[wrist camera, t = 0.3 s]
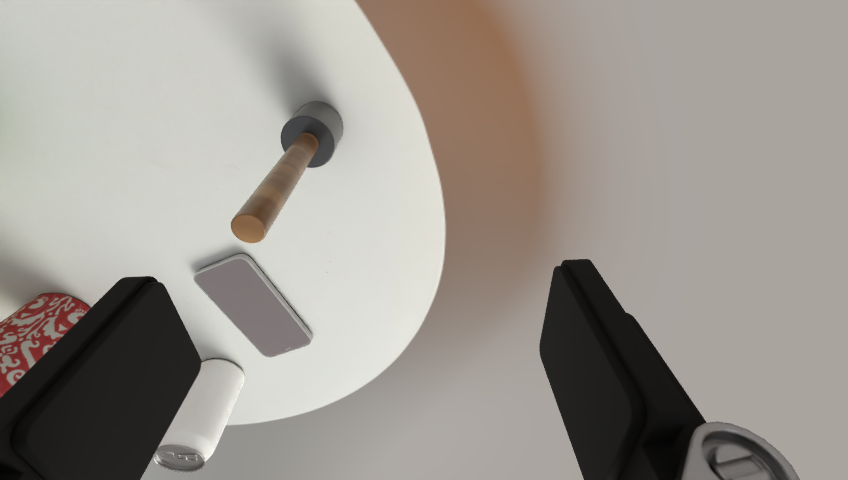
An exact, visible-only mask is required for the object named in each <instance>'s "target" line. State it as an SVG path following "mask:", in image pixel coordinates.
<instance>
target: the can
mask: <svg viewBox="0 0 848 480" xmlns="http://www.w3.org/2000/svg"><path fill="white" fill-rule="evenodd" d="M244 380H245V377H244V374H243V371H242V370H241V368H240V367H239V366H237V365H236V364H234V363H233V362H230V361H228V360H224V359H210V360H207V361H204V362H202V363H201V369H200V372H199V374H198V376H197V378H196V380H195V381H194V383H193V385H192V387H191V389H190V390H189V392H188V394H187V396H186V398H185V399H184V401H183V403H182V405H181V407H180V408H179V410H178V412H177V414H176V416H175V418H174V419H173V421H172V423H171V425H170V427H169V428H168V430H167V432H166V434H165V436H164V437H163V439H162V441H161V443H160V445H159V446H158V448H157V450H156V452H155V454H154V455H153V459H154V461H155V462H156V463H157V464H158V465H160V466H161V467H164V468H166V469H168V470H172V471H176V472H194V471H197V470H200V469H201V468H202V467H203V466H204V464H205V461H206V460H207V459H208V458H209V457H210V456H211V455H212V454H213V452H214V450H215V448H216V446H217V444H218V442H219V439H220V437H221V435H222V432H223V430H224V428H225V426H226V423H227V421H228V419H229V416H230V414H231V412H232V409H233V407H234V405H235V402H236V400H237V397H238V395H239V393H240V390H241V388H242V386H243V383H244Z"/></svg>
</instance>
